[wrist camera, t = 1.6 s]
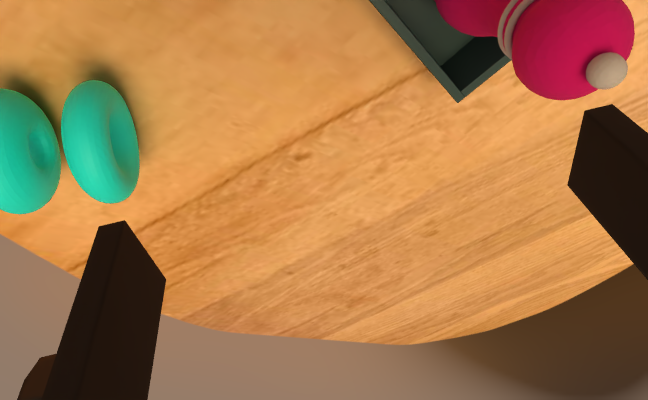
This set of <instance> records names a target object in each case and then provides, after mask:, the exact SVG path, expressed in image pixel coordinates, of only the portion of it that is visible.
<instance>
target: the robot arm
mask: <svg viewBox="0 0 648 400" xmlns="http://www.w3.org/2000/svg"><path fill="white" fill-rule="evenodd" d="M568 186H569V188H570V189H571V190H572V191H573V192H574V193H575V195H576V196H577V197H578V198H579V199H580V201H581V202H582V203H583V204H584V205H585V206H586V208H587V209H588V210H589V211H590V212H591V214H592V215H593V216H594V217H595V218H596V219H597V221H598V222H599V223H600V224H601V225H602V227H603V228H604V229H605V230H606V231H607V232H608V234H609V235H610V236H611V237H612V238H613V239H614V241H615V242H616V243H617V244H618V245H619V247H620V248H621V249H622V250H623V251H624V252H625V254H626V255H627V256H628V257H629V258H630V260H631V261H632V262H633V263H634V264H635V265H636V267H637V268H638V269H639V270H640V271H641V272H642V274H643V275H644V276H645V277H646V278H647V280H648V133H647V132H646V131H644V130H643V129H642V128H641V127H639V126H638V125H637V124H636V123H635V122H633V121H632V120H631V119H630V118H629V117H627V116H626V115H625V114H624V113H622V112H621V111H620V110H619V109H618V108H616V107H615V106H614V105H613V104H611V105H607V106H602V107H598V108H594V109H590V110H586V111H585V112H584V116H583V120H582V124H581V129H580V133H579V137H578V142H577V146H576V150H575V155H574V159H573V163H572V168H571V172H570V176H569V181H568ZM165 283H166V278H165V277H164V276H163V274H162V273H161V271H160V270H159V268H158V267H157V266H156V264H155V263H154V261H153V260H152V258H151V257H150V256H149V254H148V253H147V251H146V250H145V248H144V247H143V246H142V244H141V243H140V241H139V240H138V238H137V237H136V236H135V234H134V233H133V231H132V230H131V228H130V227H129V225H128V224H127V223H126V221H125V220H124V221H120V222H116V223H112V224H108V225H103V226H99V228H98V231H97V234H96V237H95V240H94V243H93V246H92V249H91V252H90V255H89V258H88V261H87V264H86V267H85V270H84V273H83V276H82V279H81V282H80V285H79V288H78V291H77V294H76V297H75V300H74V303H73V306H72V309H71V312H70V315H69V318H68V321H67V324H66V327H65V330H64V333H63V336H62V339H61V342H60V345H59V348H58V351H57V354H54V355H49V356H45V357H41V358H40V359H39V360H38V362H37V363H36V365H35V366H34V367H33V369H32V370H31V371H30V373H29V374H28V376H27V377H26V379H25V380H24V383H23V385H22V388H21V391H20V393H19V396H18V399H17V400H147V399H148V391H149V386H150V379H151V373H152V366H153V359H154V354H155V347H156V341H157V334H158V327H159V321H160V315H161V309H162V302H163V296H164V289H165Z"/></svg>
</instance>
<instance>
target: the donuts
mask: <svg viewBox="0 0 648 400" xmlns="http://www.w3.org/2000/svg"><path fill="white" fill-rule="evenodd" d="M61 136H62V143H63V149H64V153H65V157H66V160H67V163H68V165H69V168H70V170H71V172H72V174H73V176H74V178H75V179H76V181H77V182H78V184H79V185H80V187H81V188H82V189H83V190H84V191H85V192H86V193H87V194H88V195H90V196H91V197H92V198H94V199H96V200H98V201H100V202H104V203H118V202H121V201H123V200H125V199H126V198H128V197H129V196H130V195H131V194H132V192H133V191H134V189H135V187H136V184H137V181H138V176H139V147H138V140H137V135H136V130H135V126H134V123H133V120H132V116H131V114H130V111H129V109H128V107H127V105H126V103H125V101H124V99H123V97H122V96H121V95H120V93H119V92H118V91H117V90H116V89H115V88H114V87H112V86H111V85H110V84H108V83H105V82H103V81H99V80H88V81H85V82H82V83H80V84H79V85H77V86H76V87H75V88H74V89H73V90H72V91H71V92H70V94H69V96H68V97H67V99H66V101H65V104H64V108H63V112H62V119H61ZM60 173H61V156H60V149H59V144H58V140H57V137H56V134H55V132H54V129H53V127H52V125H51V123H50V121H49V120H48V118H47V117H46V115H45V114H44V112H43V111H42V110H41V108H40V107H39V106H38V105H37V104H36V103H34V102H33V101H32V100H31V99H30V98H28V97H27V96H25V95H23V94H21V93H19V92H16V91H13V90H10V89H0V210H3V211H5V212H8V213H13V214H26V213H31V212H34V211H36V210H38V209H40V208H42V207H43V206H44V205H45V204H46V203H48V202H49V200H50V199H51V198H52V196H53V195H54V193H55V191H56V189H57V186H58V183H59V179H60Z"/></svg>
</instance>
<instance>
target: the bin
mask: <svg viewBox="0 0 648 400" xmlns="http://www.w3.org/2000/svg"><path fill="white" fill-rule="evenodd" d="M369 1H370V2H371V3H372V4H373V5H374V7H375V8H376V9H377V10H378V11H379V12H380V14H381V15H382V16H383V17H384V18H385V19H386V21H387V22H388V23H389V24H390V25H391V26H392V28H393V29H394V30H395V31H396V32H397V33H398V35H399V36H400V37H401V38H402V39H403V40H404V41H405V43H406V44H407V45H408V46H409V47H410V48H411V50H412V51H413V52H414V53H415V54H416V55H417V57H418V58H419V59H420V60H421V61H422V62H423V64H424V65H425V66H426V67H427V68H428V69H429V71H430V72H431V73H432V74H433V75H434V76H435V78H436V79H437V80H438V81H439V82H440V83H441V85H442V86H443V87H444V88H445V89H446V90H447V92H448V93H449V94H450V95H451V96H452V97H453V99H454V100H455V101H456V102H457V103H459V102H460V101H461V100H462V99H463V98H465V97H466V96H467V95H469V94H470V93H471V92H472V91H474V90H475V89H476V88H477V87H478V86H480V85H481V84H482V83H483V82H485V81H486V80H487V79H488V78H490V77H491V76H492V75H493V74H495V73H496V72H497V71H498V70H500V69H501V68H502V67H503V66H505V65H506V64H507V63H508V62H509V61H511V59H510V58H509V57H507V56H506V55H505V54H504V53H503V52H502V50H501V48H500V46H499V43H498V37H494V36H486V37H476V36H472V35H468V34H464V33H461V32H460V31H458V30H456V29H455V28H453V27H452V26H450V25H449V24H448V23H447V22H446V21H445V20H444V19H443V18H442V16H441V15H440V13H439V11H438V9H437V6H436V2H435V1H434V0H369Z"/></svg>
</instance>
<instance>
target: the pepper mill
mask: <svg viewBox="0 0 648 400" xmlns="http://www.w3.org/2000/svg"><path fill="white" fill-rule="evenodd" d="M434 1H435V2H436V6H437V9H438V11H439V13H440V15H441V16H442V18H443V19H444V20H445V21H446V22H447V23H448V24H449V25H450V26H452V27H453V28H455V29H456V30H458V31H460V32H461V33H464V34H468V35H472V36H476V37H486V36H494V37H498V43H499V46H500V48H501V50H502V52H503V53H504V54H505V55H506V56H507V57H509V58H510V59H511V60H512V63H513V67H514V70H515V73H516V75H517V77H518V78H519V79H520V81H521V82H522V83H523V84H524V85H525V86H526V87H527V88H528V89H529V90H531V91H532V92H534V93H536V94H538V95H540V96H543V97H545V98H549V99H554V100H570V99H576V98H579V97H583V96H586V95H588V94H590V93H592V92H594V91H596V90H598V89H610V88H613V87H615V86H617V85H619V84H620V83H621V82H622V81H623V80H624V78H625V77H626V75H627V70H628V66H627V62H626V60H627V59H628V57H629V55H630V52H631V49H632V46H633V42H634V34H635V33H634V21H633V18H632V15H631V12H630V10H629V9H628V7H627V5H626V4H625V3H624V2H623V1H622V0H434Z"/></svg>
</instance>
